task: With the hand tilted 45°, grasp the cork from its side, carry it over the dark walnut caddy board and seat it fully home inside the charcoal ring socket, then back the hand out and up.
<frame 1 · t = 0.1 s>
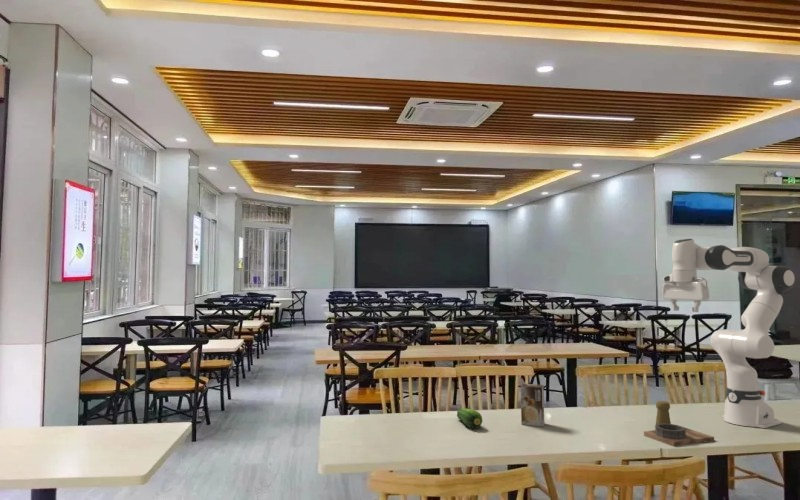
hand: (685, 311, 215), 48 cm above the table, tool pointing down, fingers open, 8 cm apart
vegetable: (467, 424, 219), on the table
cork: (663, 429, 213), on the table
caddy board: (678, 438, 200), on the table
coffee box: (532, 424, 219), on the table
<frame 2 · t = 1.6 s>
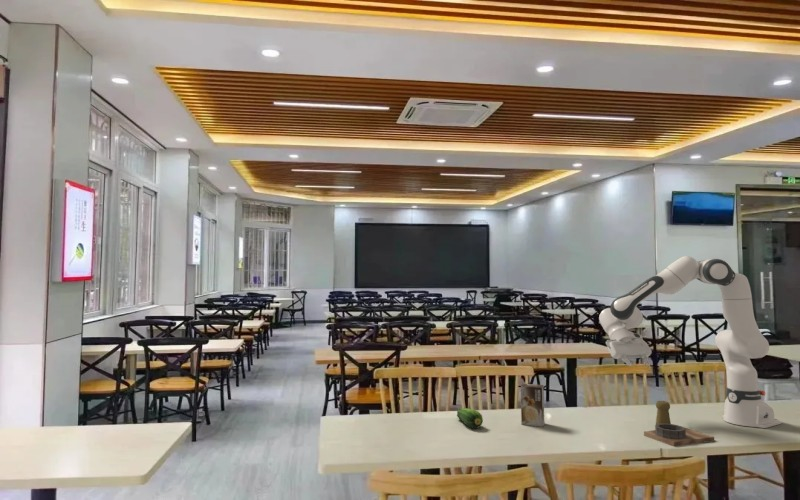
hand: (639, 364, 226), 24 cm above the table, tool tilted 45°, fingers open, 8 cm apart
nothing on the table moved.
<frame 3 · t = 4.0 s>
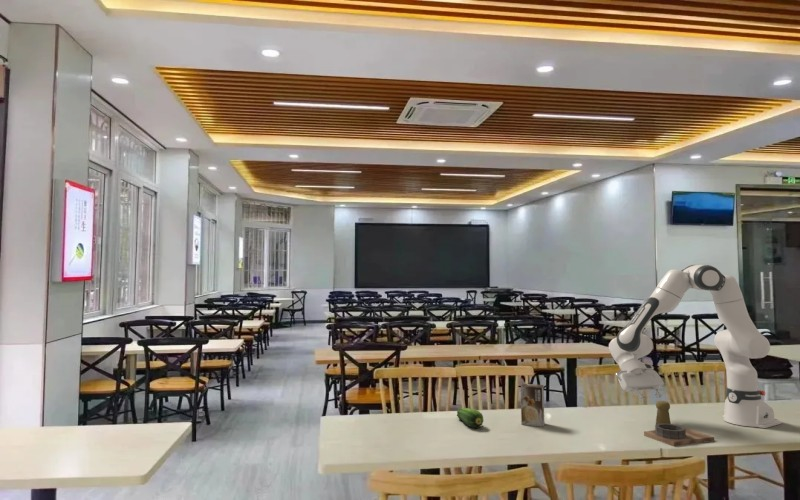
hand: (651, 397, 219), 11 cm above the table, tool tilted 45°, fingers open, 8 cm apart
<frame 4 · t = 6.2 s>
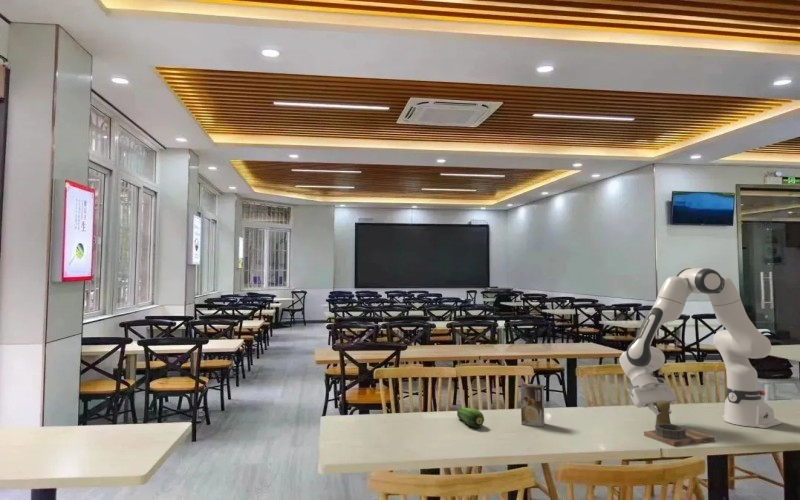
hand: (664, 414, 213), 6 cm above the table, tool tilted 45°, fingers closed on cork, 4 cm apart
cork: (663, 429, 213), on the table, touching gripper
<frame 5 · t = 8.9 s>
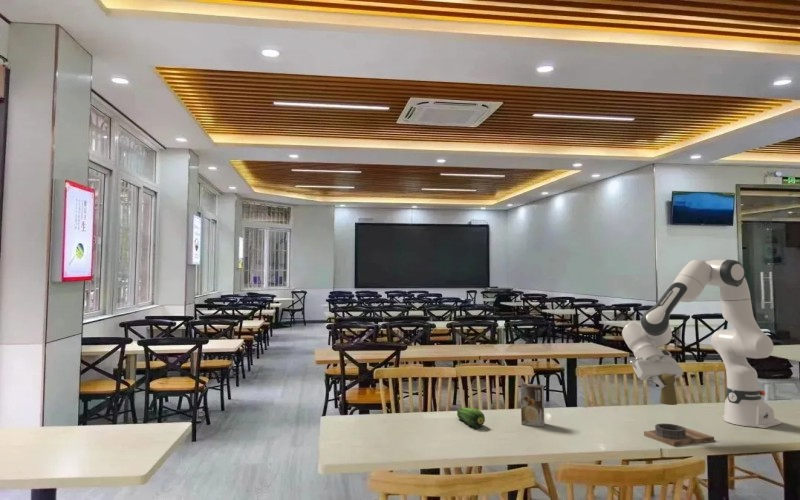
hand: (669, 387, 200), 20 cm above the table, tool tilted 45°, fingers closed on cork, 4 cm apart
cork: (668, 403, 200), point 13 cm above the table, touching gripper
when the fingers open (9 cm above the table, at t = 11.4 s): cork moves 1 cm, resting on caddy board.
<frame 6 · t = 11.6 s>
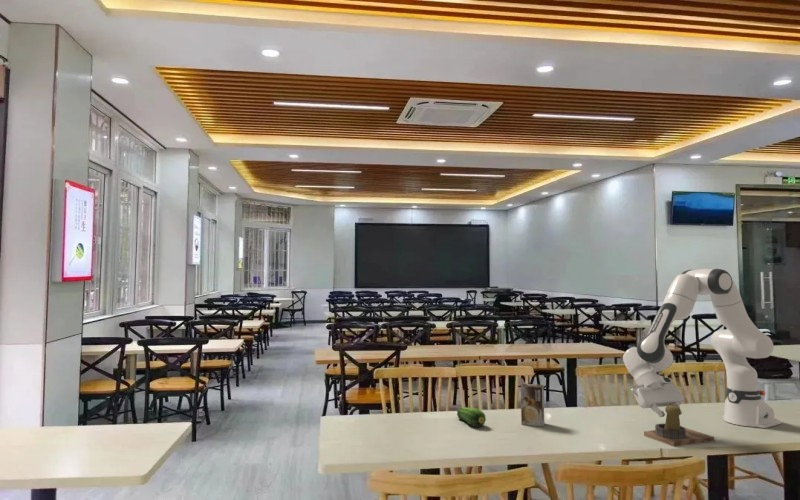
hand: (671, 415, 199), 9 cm above the table, tool tilted 45°, fingers open, 7 cm apart
cork: (672, 434, 198), point 2 cm above the table, touching caddy board
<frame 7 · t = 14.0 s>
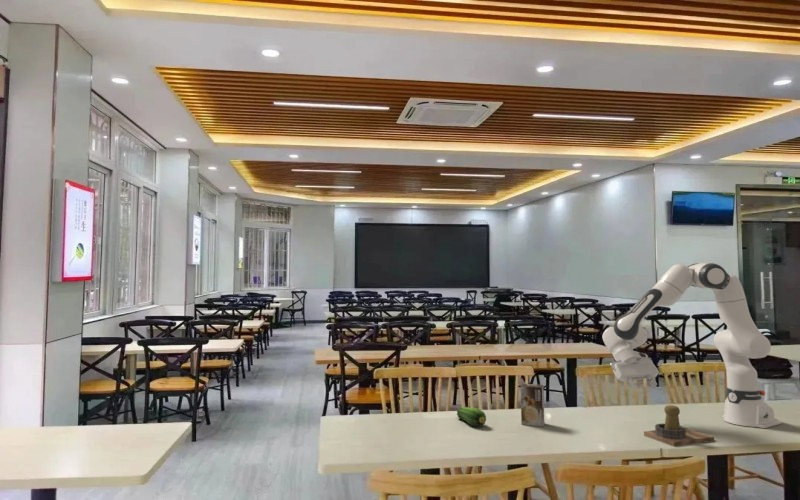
hand: (646, 386, 217), 16 cm above the table, tool tilted 45°, fingers open, 8 cm apart
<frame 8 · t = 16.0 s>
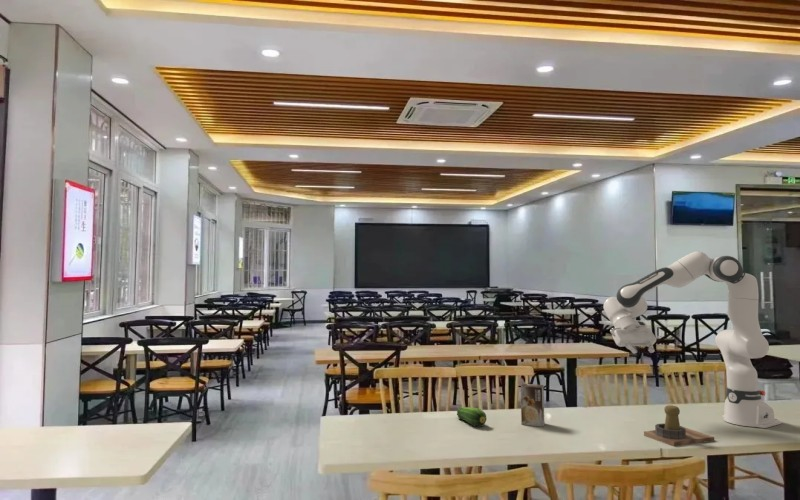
hand: (644, 352, 226), 29 cm above the table, tool tilted 45°, fingers open, 8 cm apart
at the end: cork 0.8 cm from the target spot on the caddy board, point 1.5 cm above the caddy board's base; cork tilted 0°; the gripper is holding nothing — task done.
